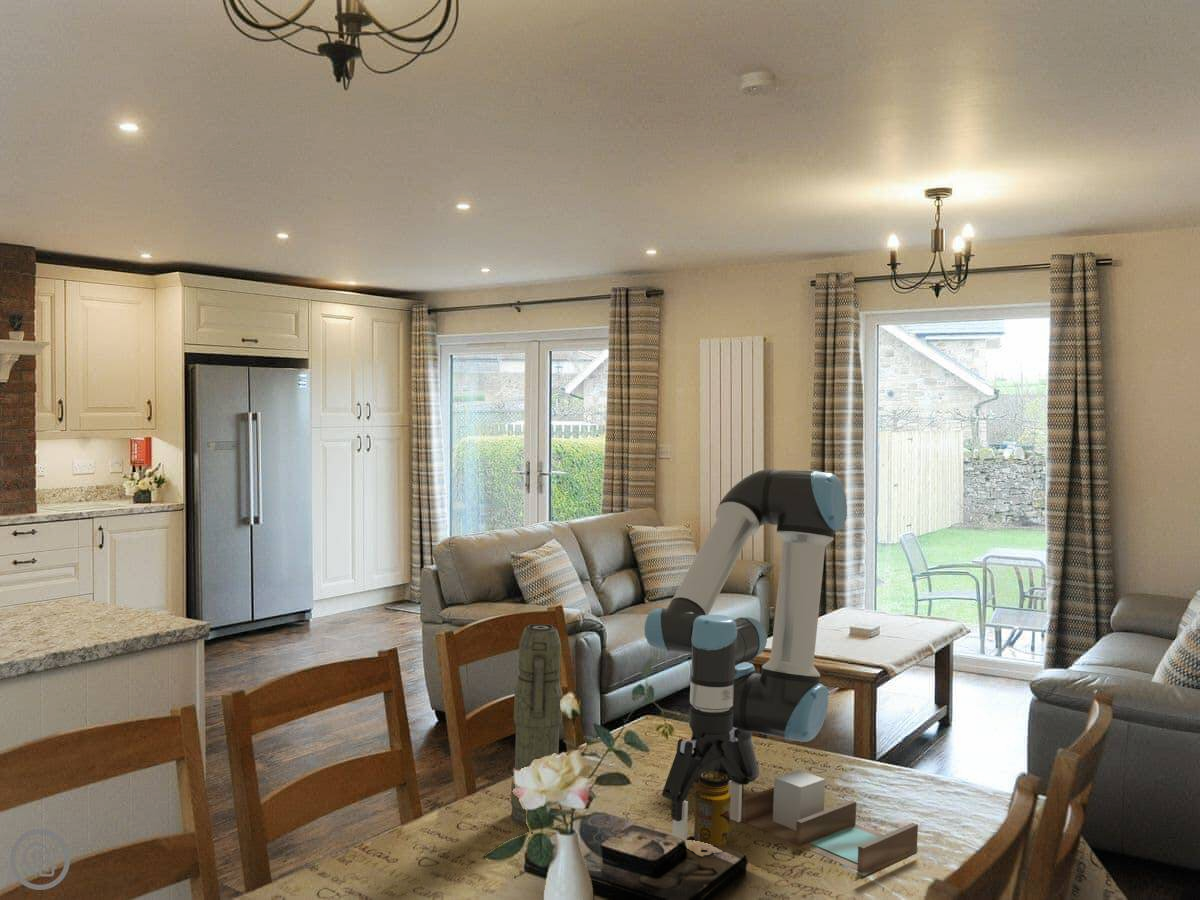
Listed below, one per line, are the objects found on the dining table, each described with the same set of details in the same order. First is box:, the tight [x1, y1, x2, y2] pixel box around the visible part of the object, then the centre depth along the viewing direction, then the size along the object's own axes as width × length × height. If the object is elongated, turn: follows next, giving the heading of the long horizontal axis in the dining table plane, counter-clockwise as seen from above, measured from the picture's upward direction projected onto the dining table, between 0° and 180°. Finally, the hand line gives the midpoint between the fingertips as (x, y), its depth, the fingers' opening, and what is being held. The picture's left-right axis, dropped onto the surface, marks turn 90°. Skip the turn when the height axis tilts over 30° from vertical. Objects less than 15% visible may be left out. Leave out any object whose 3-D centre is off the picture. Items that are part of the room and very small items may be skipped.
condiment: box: [687, 771, 731, 847], centre depth 167 cm, size 7×8×12 cm
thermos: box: [510, 623, 564, 827], centre depth 177 cm, size 9×12×35 cm
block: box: [773, 769, 826, 831], centre depth 176 cm, size 6×7×8 cm
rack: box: [740, 787, 919, 880], centre depth 171 cm, size 26×16×5 cm, turn 40°
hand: (707, 828), depth 167 cm, fingers open, 13 cm apart
